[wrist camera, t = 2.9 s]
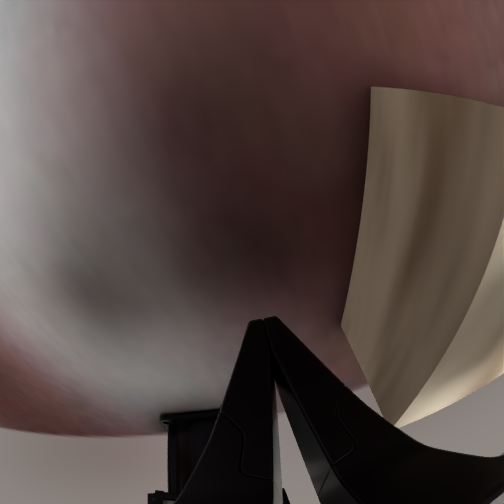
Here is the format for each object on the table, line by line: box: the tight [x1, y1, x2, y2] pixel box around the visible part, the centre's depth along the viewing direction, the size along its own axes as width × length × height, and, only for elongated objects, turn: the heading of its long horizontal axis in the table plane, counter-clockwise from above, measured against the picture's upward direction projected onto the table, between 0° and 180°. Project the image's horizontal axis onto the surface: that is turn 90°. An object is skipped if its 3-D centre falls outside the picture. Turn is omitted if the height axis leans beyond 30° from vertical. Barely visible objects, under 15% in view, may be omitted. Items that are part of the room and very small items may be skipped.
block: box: [341, 87, 504, 428], centre depth 10 cm, size 10×12×7 cm
